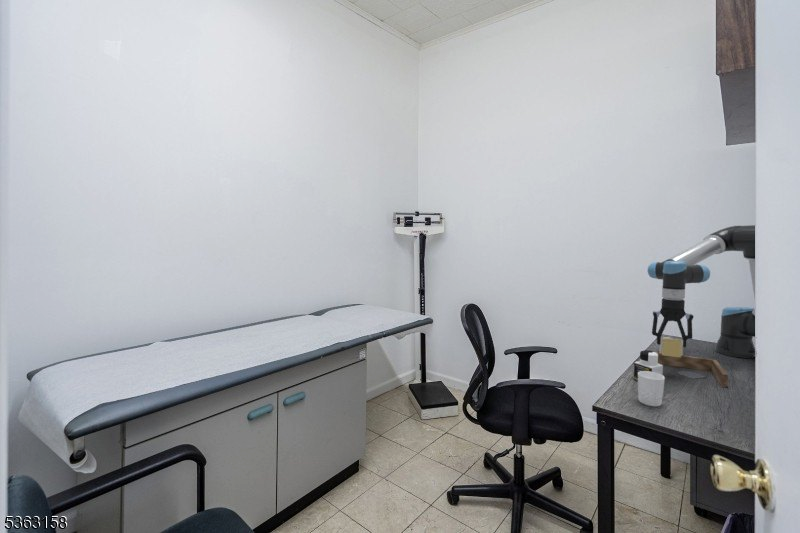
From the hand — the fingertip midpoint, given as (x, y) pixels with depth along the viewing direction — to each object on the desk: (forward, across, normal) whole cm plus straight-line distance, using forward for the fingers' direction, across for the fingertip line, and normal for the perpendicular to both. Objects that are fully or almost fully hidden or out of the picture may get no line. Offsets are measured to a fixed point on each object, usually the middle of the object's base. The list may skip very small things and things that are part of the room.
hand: (670, 353), depth 152 cm
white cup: (+10, -9, -32) cm, 35 cm away
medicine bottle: (+10, -8, -9) cm, 16 cm away
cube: (0, 0, 0) cm, 0 cm away
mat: (+10, +8, +6) cm, 14 cm away
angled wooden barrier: (+10, +7, +7) cm, 14 cm away
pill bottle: (+10, +2, +26) cm, 28 cm away
